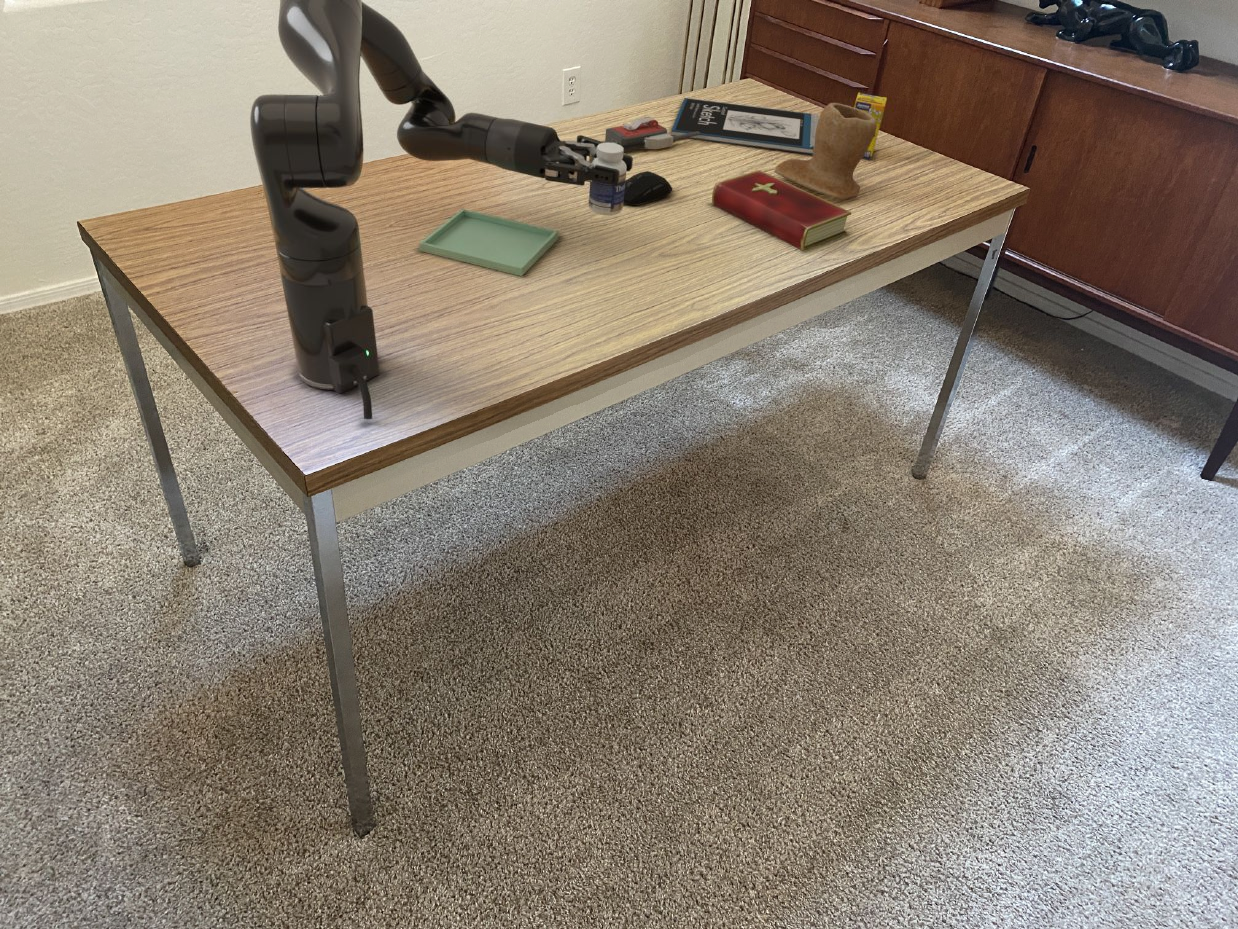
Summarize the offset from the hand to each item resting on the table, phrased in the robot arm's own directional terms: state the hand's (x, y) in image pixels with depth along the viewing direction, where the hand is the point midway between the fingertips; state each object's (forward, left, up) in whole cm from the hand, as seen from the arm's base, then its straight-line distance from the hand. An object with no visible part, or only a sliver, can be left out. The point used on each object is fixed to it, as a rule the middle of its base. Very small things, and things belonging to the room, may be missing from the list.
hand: (624, 170), depth 135 cm
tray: (+15, +14, -13) cm, 24 cm away
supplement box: (-5, -71, -13) cm, 73 cm away
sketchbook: (+18, -64, -13) cm, 68 cm away
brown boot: (-9, -49, -13) cm, 52 cm away
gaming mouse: (+11, -18, -13) cm, 25 cm away
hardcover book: (-11, -30, -13) cm, 35 cm away
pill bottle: (+2, +1, -7) cm, 7 cm away
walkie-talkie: (+26, -41, -13) cm, 51 cm away
